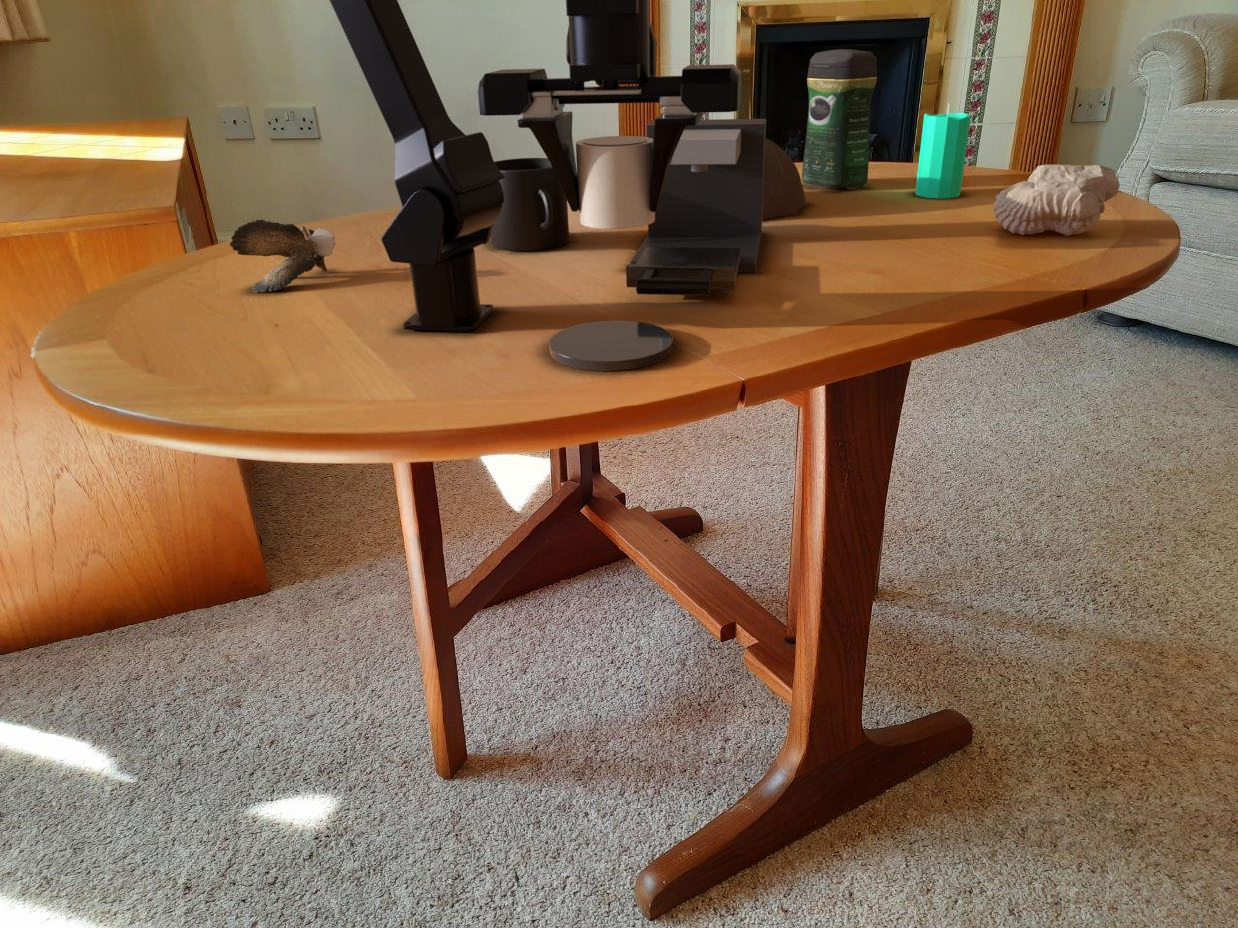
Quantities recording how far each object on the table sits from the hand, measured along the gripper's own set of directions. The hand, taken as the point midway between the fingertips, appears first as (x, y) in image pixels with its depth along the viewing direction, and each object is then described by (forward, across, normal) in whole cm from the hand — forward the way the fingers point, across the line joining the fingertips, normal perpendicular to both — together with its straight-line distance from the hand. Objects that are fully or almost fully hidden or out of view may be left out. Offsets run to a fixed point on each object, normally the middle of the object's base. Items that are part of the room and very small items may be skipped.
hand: (614, 211), depth 69 cm
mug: (+11, +16, -33) cm, 39 cm away
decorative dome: (+11, -6, -56) cm, 57 cm away
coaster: (+11, 0, +2) cm, 11 cm away
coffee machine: (+11, -4, -31) cm, 33 cm away
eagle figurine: (+11, +38, -16) cm, 43 cm away
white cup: (+1, 0, -1) cm, 1 cm away
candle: (+11, -34, -65) cm, 74 cm away
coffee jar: (+11, -20, -72) cm, 76 cm away
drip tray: (+9, -4, -15) cm, 18 cm away
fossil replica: (+11, -43, -41) cm, 60 cm away
